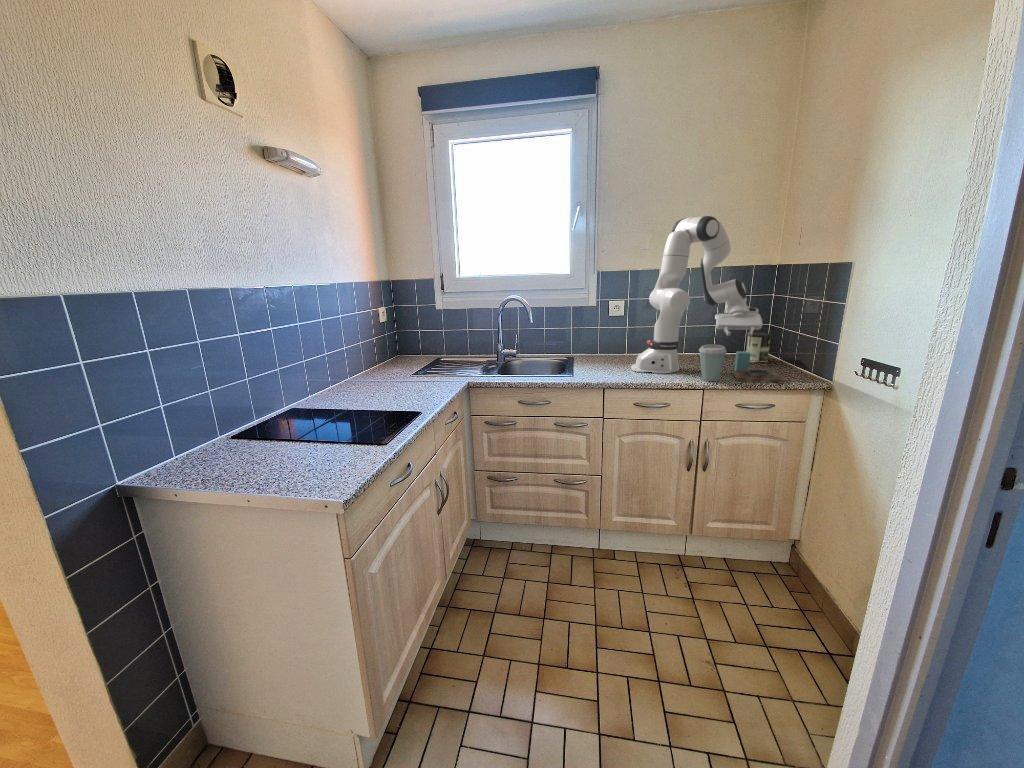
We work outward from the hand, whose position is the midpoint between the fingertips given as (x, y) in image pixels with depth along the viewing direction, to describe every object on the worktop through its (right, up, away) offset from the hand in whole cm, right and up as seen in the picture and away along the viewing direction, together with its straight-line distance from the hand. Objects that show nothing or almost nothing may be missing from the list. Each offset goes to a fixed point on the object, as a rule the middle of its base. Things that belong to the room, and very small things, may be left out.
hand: (739, 335), depth 198 cm
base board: (-3, -21, -20) cm, 29 cm away
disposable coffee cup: (-24, -22, -20) cm, 38 cm away
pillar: (-3, -18, -7) cm, 19 cm away
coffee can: (+16, -12, +13) cm, 23 cm away
